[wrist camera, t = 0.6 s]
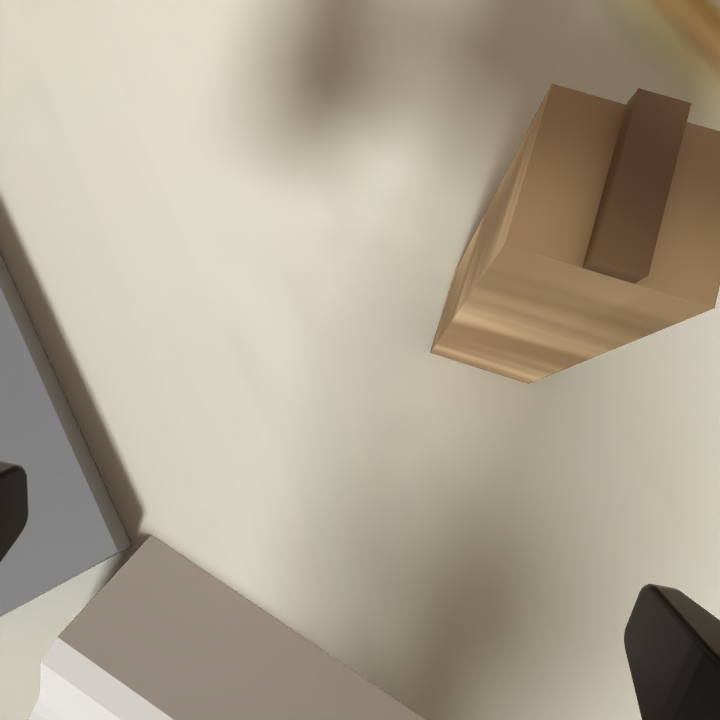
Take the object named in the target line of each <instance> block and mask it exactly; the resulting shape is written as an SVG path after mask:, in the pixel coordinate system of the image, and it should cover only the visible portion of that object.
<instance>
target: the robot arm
mask: <svg viewBox="0 0 720 720" xmlns="http://www.w3.org/2000/svg"><path fill="white" fill-rule="evenodd" d="M28 514H29V508H28V482H27V472H26V470H25V469H24V468H23V467H22V466H21V465H17V464H12V463H7V462H1V461H0V562H1V561H2V559H3V558H4V557H5V555H6V554H7V553H8V551H9V550H10V548H11V547H12V546H13V544H14V543H15V541H16V540H17V539H18V537H19V536H20V534H21V533H22V531H23V530H24V528H25V526H26V523H27V520H28ZM624 643H625V650H626V654H627V658H628V662H629V667H630V671H631V675H632V679H633V683H634V688H635V692H636V696H637V700H638V705H639V709H640V713H641V717H642V720H720V620H719V619H717V618H716V617H714V616H713V615H712V614H710V613H709V612H708V611H706V610H705V609H704V608H702V607H701V606H700V605H698V604H697V603H696V602H694V601H693V600H692V599H690V598H689V597H687V596H686V595H685V594H683V593H682V592H681V591H679V590H677V589H674V588H670V587H665V586H659V585H654V584H648V585H645V586H644V587H643V588H642V589H641V591H640V593H639V595H638V598H637V600H636V603H635V605H634V608H633V610H632V613H631V616H630V618H629V621H628V623H627V626H626V629H625V634H624Z"/></svg>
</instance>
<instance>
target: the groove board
mask: <svg viewBox="0 0 720 720" xmlns="http://www.w3.org/2000/svg"><path fill="white" fill-rule="evenodd" d="M0 461H1V462H7V463H12V464H17V465H21V466H22V467H23V468H24V469H25V470H26V472H27V482H28V508H29V514H28V520H27V523H26V526H25V528H24V530H23V531H22V533H21V534H20V536H19V537H18V539H17V540H16V541H15V543H14V544H13V546H12V547H11V548H10V550H9V551H8V553H7V554H6V555H5V557H4V558H3V559H2V561H1V562H0V617H1V616H3V615H4V614H6V613H8V612H10V611H12V610H14V609H16V608H17V607H19V606H21V605H23V604H25V603H27V602H29V601H31V600H32V599H34V598H36V597H38V596H40V595H42V594H44V593H45V592H47V591H49V590H51V589H53V588H55V587H57V586H58V585H60V584H62V583H64V582H66V581H68V580H70V579H71V578H73V577H75V576H77V575H79V574H81V573H83V572H84V571H86V570H88V569H90V568H92V567H94V566H96V565H97V564H99V563H101V562H103V561H105V560H107V559H109V558H111V557H112V556H114V555H116V554H118V553H120V552H122V551H124V550H125V549H127V548H129V547H131V546H132V545H131V543H130V540H129V538H128V536H127V534H126V531H125V529H124V527H123V525H122V523H121V520H120V518H119V516H118V514H117V511H116V509H115V507H114V505H113V502H112V500H111V498H110V496H109V494H108V491H107V489H106V487H105V485H104V482H103V480H102V478H101V476H100V473H99V471H98V469H97V467H96V465H95V462H94V460H93V458H92V456H91V453H90V451H89V449H88V447H87V445H86V442H85V440H84V438H83V436H82V433H81V431H80V429H79V427H78V424H77V422H76V420H75V418H74V416H73V413H72V411H71V409H70V407H69V404H68V402H67V400H66V398H65V395H64V393H63V391H62V389H61V387H60V384H59V382H58V380H57V378H56V375H55V373H54V371H53V369H52V366H51V364H50V362H49V360H48V358H47V355H46V353H45V351H44V349H43V346H42V344H41V342H40V340H39V337H38V335H37V333H36V331H35V329H34V326H33V324H32V322H31V320H30V317H29V315H28V313H27V311H26V308H25V306H24V304H23V302H22V300H21V297H20V295H19V293H18V291H17V288H16V286H15V284H14V282H13V279H12V277H11V275H10V273H9V271H8V268H7V266H6V264H5V262H4V259H3V257H2V255H1V253H0Z"/></svg>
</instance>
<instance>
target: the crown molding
mask: <svg viewBox="0 0 720 720" xmlns="http://www.w3.org/2000/svg"><path fill="white" fill-rule="evenodd" d="M28 720H425V719H424V718H423V717H421V716H420V715H418V714H417V713H415V712H414V711H412V710H411V709H409V708H408V707H406V706H405V705H403V704H402V703H400V702H399V701H397V700H396V699H394V698H393V697H391V696H390V695H388V694H387V693H386V692H384V691H383V690H381V689H380V688H378V687H377V686H375V685H374V684H372V683H371V682H369V681H368V680H366V679H365V678H363V677H362V676H360V675H359V674H357V673H356V672H354V671H353V670H351V669H350V668H349V667H347V666H346V665H344V664H343V663H341V662H340V661H338V660H337V659H335V658H334V657H332V656H331V655H329V654H328V653H326V652H325V651H323V650H322V649H320V648H319V647H317V646H316V645H314V644H313V643H311V642H310V641H309V640H307V639H306V638H304V637H303V636H301V635H300V634H298V633H297V632H295V631H294V630H292V629H291V628H289V627H288V626H286V625H285V624H283V623H282V622H280V621H279V620H277V619H276V618H274V617H273V616H272V615H270V614H269V613H267V612H266V611H264V610H263V609H261V608H260V607H258V606H257V605H255V604H254V603H252V602H251V601H249V600H248V599H246V598H245V597H243V596H242V595H240V594H239V593H237V592H236V591H235V590H233V589H232V588H230V587H229V586H227V585H226V584H224V583H223V582H221V581H220V580H218V579H217V578H215V577H214V576H212V575H211V574H209V573H208V572H206V571H205V570H203V569H202V568H200V567H199V566H198V565H196V564H195V563H193V562H192V561H190V560H189V559H187V558H186V557H184V556H183V555H181V554H180V553H178V552H177V551H175V550H174V549H172V548H171V547H169V546H168V545H166V544H165V543H163V542H162V541H160V540H159V539H158V538H156V537H155V536H153V535H151V536H150V537H149V538H148V539H147V540H146V541H145V542H144V543H143V544H142V546H141V547H140V548H139V549H138V550H137V551H136V552H135V553H134V554H133V555H132V556H131V557H130V559H129V560H128V561H127V562H126V563H125V564H124V565H123V566H122V567H121V568H120V569H119V571H118V572H117V573H116V574H115V575H114V576H113V577H112V578H111V579H110V580H109V581H108V582H107V584H106V585H105V586H104V587H103V588H102V589H101V590H100V591H99V592H98V593H97V594H96V596H95V597H94V598H93V599H92V600H91V601H90V602H89V603H88V604H87V605H86V606H85V608H84V609H83V610H82V611H81V612H80V613H79V614H78V615H77V616H76V617H75V618H74V619H73V621H72V622H71V623H70V624H69V625H68V626H67V627H66V628H65V629H64V630H63V631H62V633H61V634H60V635H59V636H58V637H57V638H56V640H55V641H54V643H53V644H52V646H51V647H50V649H49V651H48V652H47V654H46V655H45V657H44V658H43V660H42V661H41V677H40V695H39V698H38V701H37V703H36V705H35V707H34V709H33V711H32V713H31V714H30V716H29V718H28Z"/></svg>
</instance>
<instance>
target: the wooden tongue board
mask: <svg viewBox="0 0 720 720" xmlns="http://www.w3.org/2000/svg"><path fill="white" fill-rule="evenodd" d="M690 106H691V103H688V102H685V101H681V100H678V99H674V98H670V97H667V96H663V95H660V94H656V93H653V92H649V91H646V90H642V89H638V90H637V91H636V93H635V94H634V95H633V96H632V98H631V99H630V100H629V102H628V103H627V104H626V105H624V104H621V103H617V102H614V101H610V100H607V99H603V98H600V97H596V96H593V95H589V94H586V93H582V92H579V91H575V90H572V89H568V88H564V87H561V86H557V85H554V84H551V86H550V88H549V90H548V92H547V94H546V96H545V98H544V100H543V102H542V104H541V106H540V108H539V110H538V112H537V113H536V115H535V117H534V119H533V121H532V123H531V125H530V127H529V129H528V131H527V133H526V135H525V137H524V139H523V141H522V143H521V144H520V146H519V148H518V150H517V152H516V154H515V156H514V158H513V160H512V162H511V164H510V166H509V168H508V170H507V172H506V174H505V176H504V177H503V179H502V181H501V183H500V185H499V187H498V189H497V191H496V193H495V195H494V197H493V199H492V201H491V203H490V205H489V207H488V208H487V210H486V212H485V214H484V216H483V218H482V220H481V222H480V224H479V226H478V228H477V230H476V232H475V234H474V236H473V238H472V239H471V241H470V243H469V245H468V247H467V249H466V251H465V253H464V255H463V257H462V259H461V261H460V263H459V265H458V267H457V269H456V271H455V273H454V277H453V280H452V283H451V287H450V290H449V293H448V296H447V300H446V303H445V306H444V309H443V313H442V316H441V319H440V322H439V326H438V329H437V332H436V335H435V339H434V342H433V345H432V348H431V352H430V353H433V354H437V355H440V356H443V357H446V358H449V359H452V360H456V361H459V362H462V363H465V364H468V365H472V366H475V367H478V368H481V369H484V370H487V371H491V372H494V373H497V374H500V375H503V376H507V377H510V378H513V379H516V380H519V381H522V382H526V383H532V382H534V381H536V380H539V379H541V378H544V377H546V376H549V375H551V374H554V373H556V372H559V371H561V370H563V369H566V368H568V367H571V366H573V365H576V364H578V363H581V362H583V361H586V360H588V359H590V358H593V357H595V356H598V355H600V354H603V353H605V352H608V351H610V350H613V349H615V348H617V347H620V346H622V345H625V344H627V343H630V342H632V341H635V340H637V339H640V338H642V337H645V336H647V335H649V334H652V333H654V332H657V331H659V330H662V329H664V328H667V327H669V326H672V325H674V324H676V323H679V322H681V321H684V320H686V319H689V318H691V317H694V316H696V315H699V314H701V313H703V312H706V311H708V310H711V309H713V308H715V303H716V299H717V295H718V290H719V286H720V132H719V131H716V130H712V129H709V128H705V127H702V126H698V125H695V124H691V123H688V122H687V118H688V114H689V110H690Z"/></svg>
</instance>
